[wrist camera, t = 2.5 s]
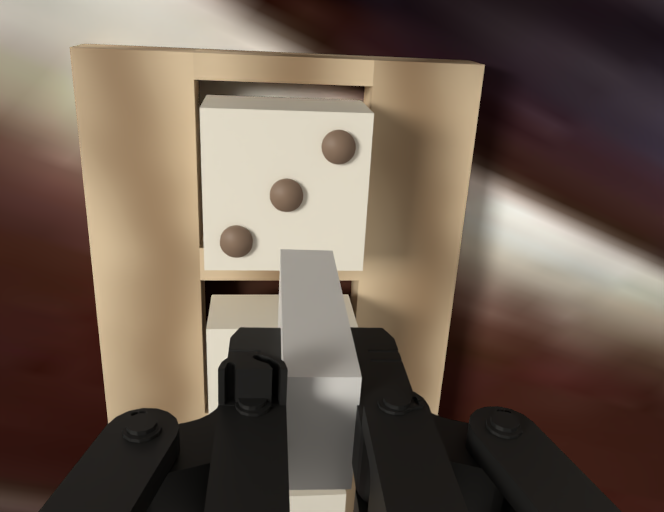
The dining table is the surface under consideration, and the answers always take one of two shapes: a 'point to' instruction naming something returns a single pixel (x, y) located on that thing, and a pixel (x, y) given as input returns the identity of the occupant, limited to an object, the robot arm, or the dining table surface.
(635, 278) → the dining table surface
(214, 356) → the two pip tile
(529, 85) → the dining table surface
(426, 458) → the robot arm
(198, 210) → the button board
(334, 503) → the one pip tile
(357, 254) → the three pip tile
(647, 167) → the dining table surface
